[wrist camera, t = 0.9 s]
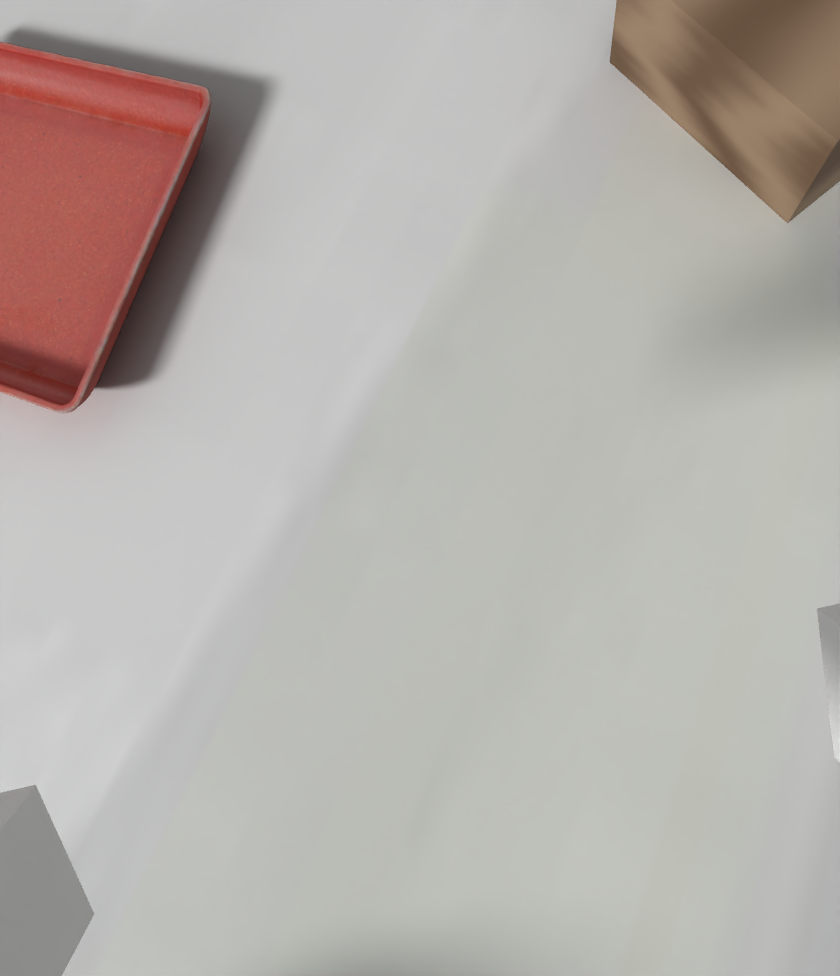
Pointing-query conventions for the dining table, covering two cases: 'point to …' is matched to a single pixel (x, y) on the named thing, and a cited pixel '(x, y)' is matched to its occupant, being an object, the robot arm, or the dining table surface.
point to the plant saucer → (81, 210)
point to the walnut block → (744, 85)
